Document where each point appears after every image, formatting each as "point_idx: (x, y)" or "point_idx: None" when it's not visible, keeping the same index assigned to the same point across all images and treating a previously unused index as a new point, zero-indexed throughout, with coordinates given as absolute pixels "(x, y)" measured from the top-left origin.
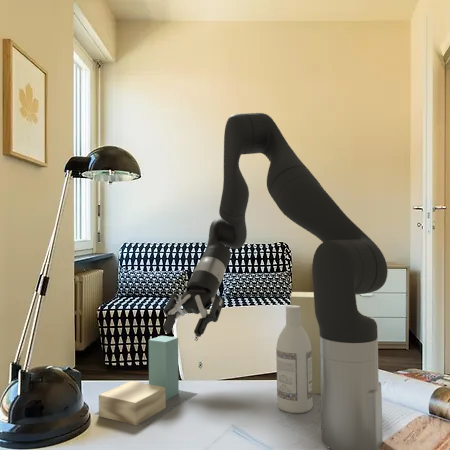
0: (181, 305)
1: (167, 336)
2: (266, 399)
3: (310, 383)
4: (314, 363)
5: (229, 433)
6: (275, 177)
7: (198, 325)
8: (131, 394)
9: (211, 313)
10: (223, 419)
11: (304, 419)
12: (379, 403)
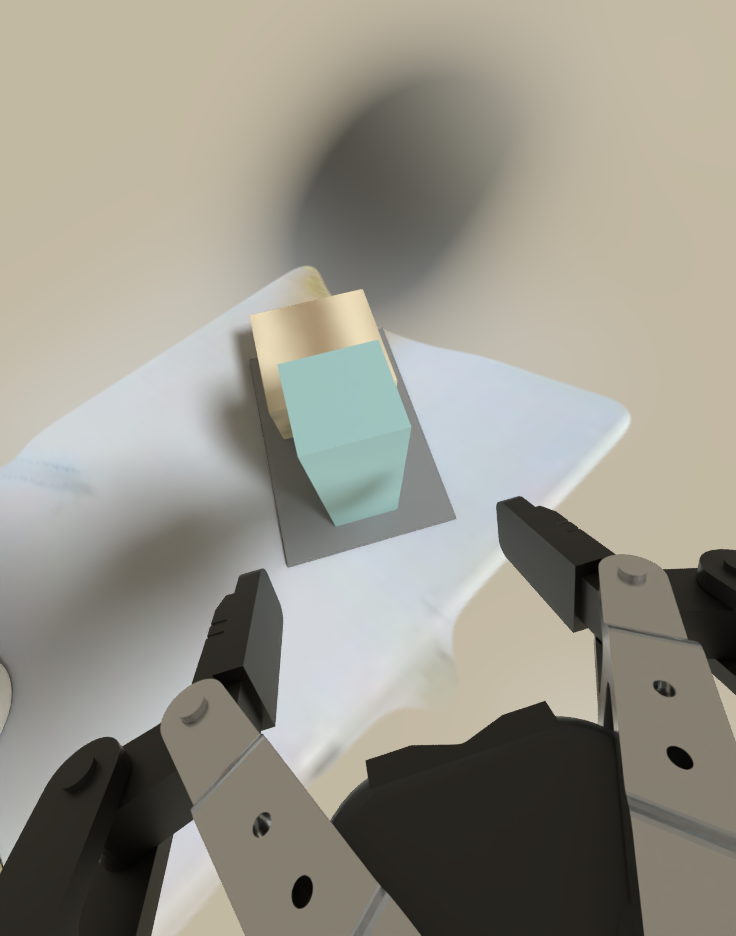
0: (615, 696)
1: (368, 436)
2: (71, 706)
3: None
4: None
5: (76, 456)
6: None
7: (236, 607)
8: (301, 333)
9: (71, 769)
10: (124, 497)
11: None
12: None
